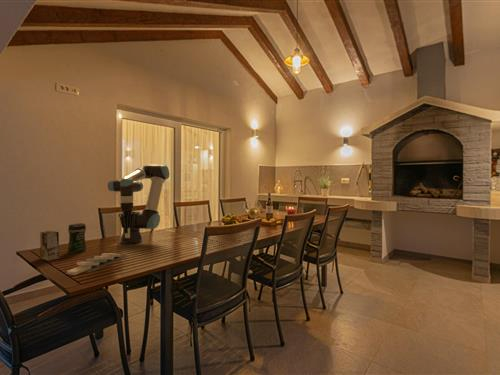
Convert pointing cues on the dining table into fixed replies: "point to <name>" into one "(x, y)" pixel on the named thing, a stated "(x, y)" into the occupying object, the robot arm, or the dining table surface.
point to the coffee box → (49, 245)
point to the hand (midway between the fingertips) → (127, 237)
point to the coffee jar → (77, 238)
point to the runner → (106, 263)
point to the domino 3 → (96, 260)
